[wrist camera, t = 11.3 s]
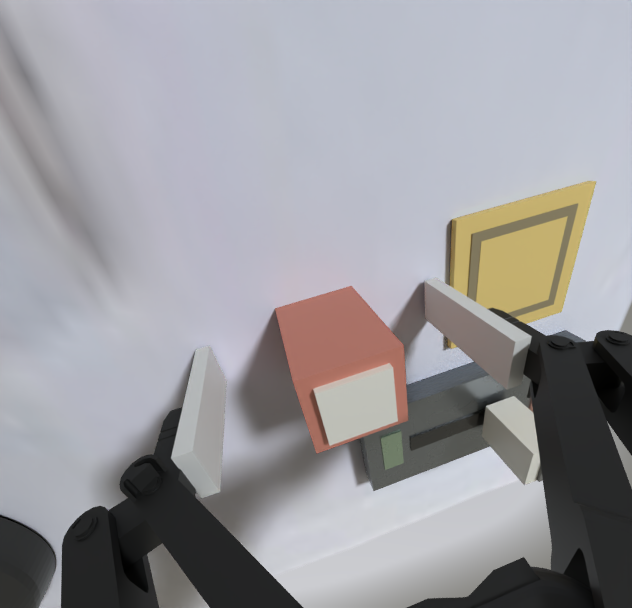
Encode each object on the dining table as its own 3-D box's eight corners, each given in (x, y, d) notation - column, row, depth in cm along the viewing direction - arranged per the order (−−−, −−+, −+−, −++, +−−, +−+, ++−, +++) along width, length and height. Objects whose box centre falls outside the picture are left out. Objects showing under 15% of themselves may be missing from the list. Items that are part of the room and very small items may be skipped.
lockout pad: (447, 345, 20) (451, 349, 20) (451, 219, 16) (457, 221, 15) (556, 309, 21) (562, 312, 21) (588, 180, 17) (598, 181, 16)
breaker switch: (481, 436, 23) (527, 488, 20) (485, 406, 21) (536, 457, 18) (507, 426, 23) (557, 475, 20) (513, 395, 22) (569, 444, 18)
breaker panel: (366, 473, 25) (374, 492, 24) (352, 403, 21) (361, 421, 19) (544, 406, 27) (560, 420, 26) (565, 330, 23) (587, 341, 21)
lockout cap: (294, 368, 18) (318, 459, 13) (274, 308, 16) (293, 387, 10) (360, 346, 19) (411, 425, 13) (351, 285, 16) (407, 349, 11)
